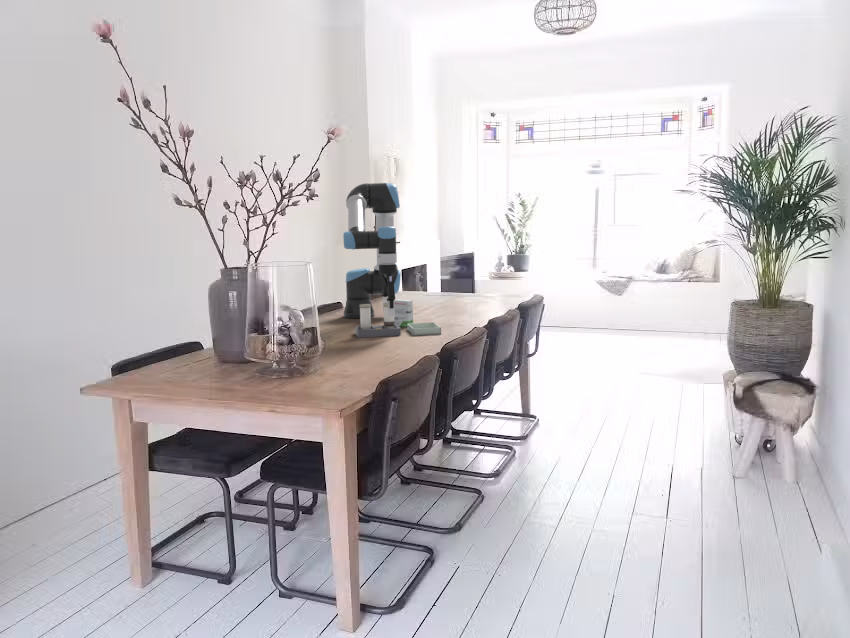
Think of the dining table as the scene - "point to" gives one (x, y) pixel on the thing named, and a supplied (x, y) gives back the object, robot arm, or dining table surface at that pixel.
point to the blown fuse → (388, 317)
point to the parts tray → (423, 328)
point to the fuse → (365, 316)
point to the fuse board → (377, 331)
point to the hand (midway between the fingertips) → (388, 314)
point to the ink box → (403, 312)
